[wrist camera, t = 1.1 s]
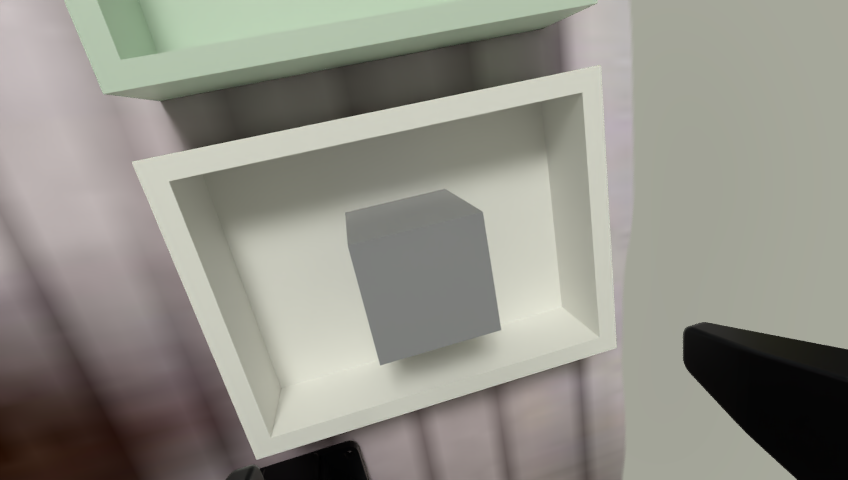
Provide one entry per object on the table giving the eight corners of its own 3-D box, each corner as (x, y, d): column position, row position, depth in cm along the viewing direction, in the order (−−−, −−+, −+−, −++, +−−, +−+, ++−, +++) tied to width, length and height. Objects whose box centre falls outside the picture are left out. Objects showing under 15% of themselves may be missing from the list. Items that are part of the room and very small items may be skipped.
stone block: (461, 279, 19) (501, 330, 15) (369, 304, 19) (380, 365, 14) (445, 188, 18) (482, 211, 13) (345, 212, 17) (347, 245, 13)
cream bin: (569, 309, 22) (616, 348, 18) (271, 396, 20) (256, 459, 16) (546, 76, 18) (600, 64, 15) (179, 152, 16) (131, 161, 13)
